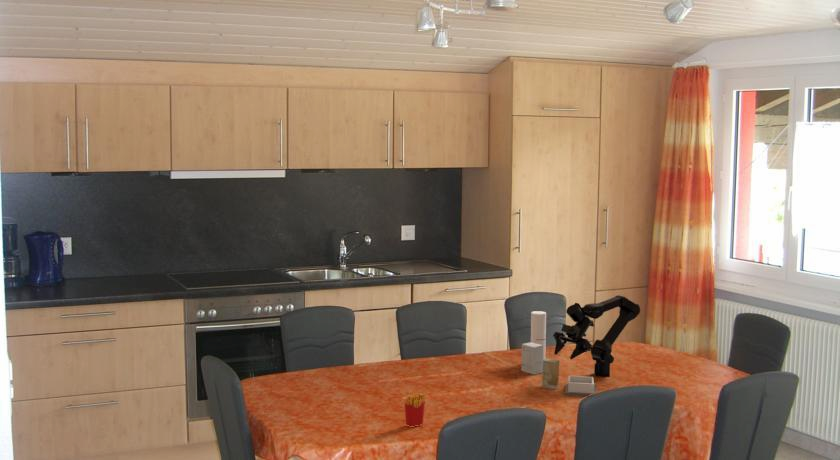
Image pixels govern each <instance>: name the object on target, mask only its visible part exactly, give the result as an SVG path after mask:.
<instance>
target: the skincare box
mask: <svg viewBox="0 0 840 460" xmlns="http://www.w3.org/2000/svg"><path fill="white" fill-rule="evenodd" d="M559 373H560V360H559V359H554V358H547V357H545V359H544V360H543V372H542V378H541V382H542V383H541V388H544V389H545V388H546V389H551V390H556V389H558V387H559V376H560V374H559Z"/></svg>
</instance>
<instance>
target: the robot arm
mask: <svg viewBox="0 0 840 460" xmlns="http://www.w3.org/2000/svg"><path fill="white" fill-rule="evenodd" d="M616 308H619V312H618V313H619V314H618V317H617V319H616V320H615V321H614V322H613V324H612V326H611V327H610V328H609V330H608V331H607V333H606V334H605V336H604V337H603V338H602V339H601V340H600V339H596V340H595V341H594V343H593V344H591V343H590V341H589V339H587V338H585V337H586V336H587V334H586V332H587V331H588V329H589V328H590V327H592V328H594V326H595V324H594V320H596V319H599V318H601V317H602V316H603V314H604V313H606V312H608V311H611V310H613V309H616ZM565 312H566V314H567V316H568V317H569V318H570V319H571V320H572V321H573V322H575V324H573V325H568V324H562V327H561V329H560V331H561V332H560V331H555V332H553V333H554V334H553V335H552V337H553V338H554V340H555V347H554V352H553V353H554V355H555V356H556V355H558V354H559V353H560V352H561V351H562V349H564V347H565V346H566V344H567V343H571V344H575V348H574V349H573V351H572V353H571V354H570V357H569V360H573V359H574V358H577V357H578V356H580V355H581V354H584V353H588V352H590V355H591V358H592V361H595V363H593V364H594V365H593V370H594V372H593V373H594V375H595V376H597V377H611V364H613V363H614V361H615V357H614V356H613V355H612V351H613V345H614V343H615V342H616V341H617V339H618V338H619V337H620V335H621V334H622V331H624V329H625V327H626V326H627V325H628V323H629V322H631V321H633V320H635V319H636V318H637V317H638V315H640V313H641V308H640V305H639V304H638V303H635V302H633V301H631V300H630V299H628V298H627V297H626V296H624V295H619V294H618V295H615V296H613V297H612V298H608V299H606V300H603V301H601V302H598V303H594V302H593V303H588V304H587V303H586V304H585V305H584V306H581V305H580V303H577V302H575V303H574V304H571V305H570V306H568V307H567V309H566V311H565ZM592 319H593V320H592ZM564 333H565V334H564ZM583 337H584V338H583Z"/></svg>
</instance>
